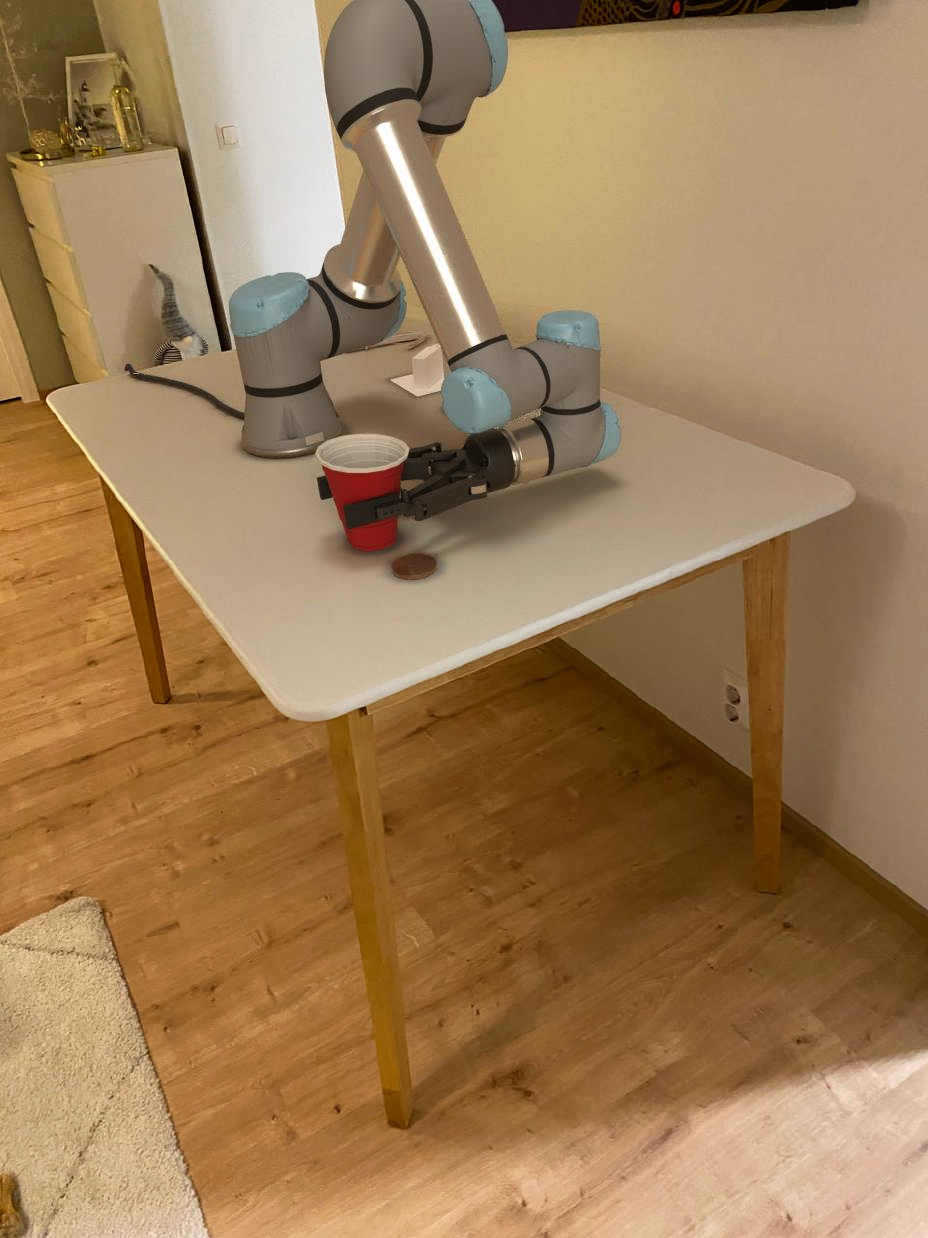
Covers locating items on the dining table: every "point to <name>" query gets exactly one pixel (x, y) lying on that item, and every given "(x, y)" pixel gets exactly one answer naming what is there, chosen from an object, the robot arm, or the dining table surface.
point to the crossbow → (405, 338)
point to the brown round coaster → (414, 566)
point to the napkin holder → (424, 372)
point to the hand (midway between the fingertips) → (332, 502)
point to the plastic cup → (364, 480)
